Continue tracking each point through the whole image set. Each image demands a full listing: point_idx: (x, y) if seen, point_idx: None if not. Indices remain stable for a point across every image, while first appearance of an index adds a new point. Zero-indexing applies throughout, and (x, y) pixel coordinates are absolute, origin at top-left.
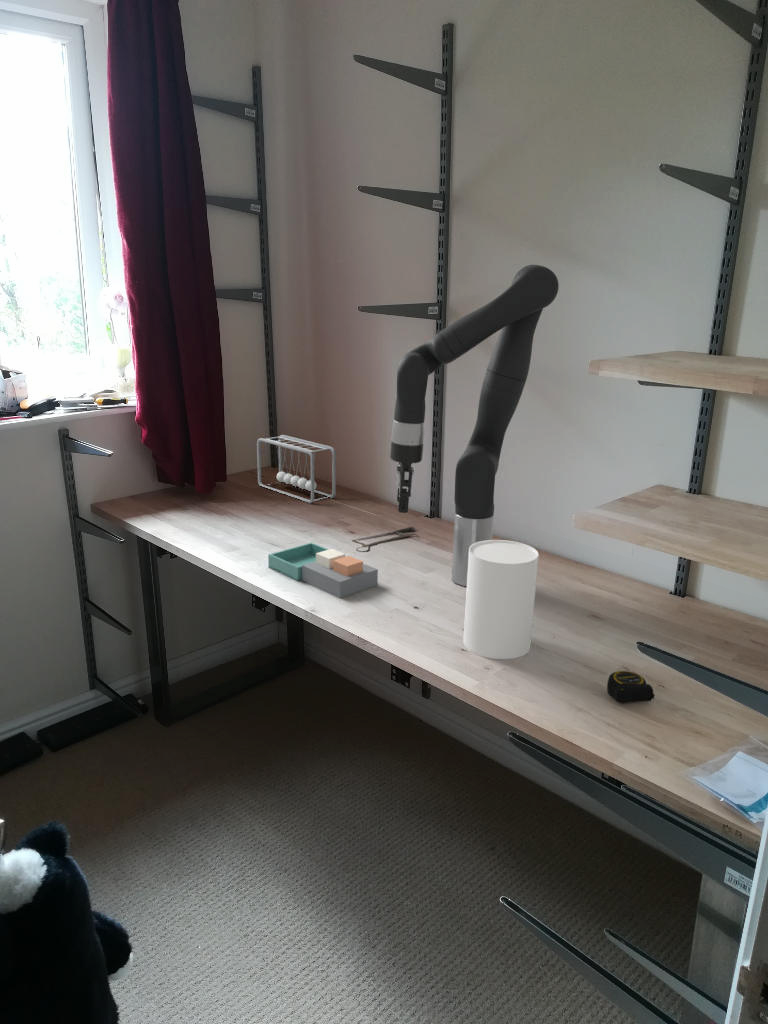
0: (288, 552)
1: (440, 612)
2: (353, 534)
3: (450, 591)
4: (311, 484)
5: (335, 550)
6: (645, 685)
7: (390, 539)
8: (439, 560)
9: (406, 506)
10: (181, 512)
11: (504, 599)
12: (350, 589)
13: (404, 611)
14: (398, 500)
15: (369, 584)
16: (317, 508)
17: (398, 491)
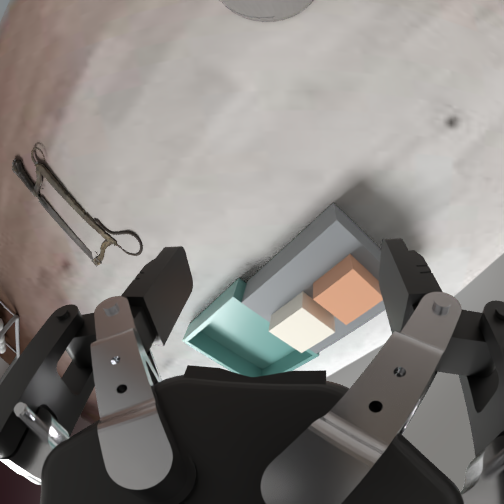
0: (232, 364)
1: (470, 74)
2: (72, 262)
3: (354, 28)
4: (4, 333)
5: (278, 324)
6: None
7: (67, 197)
8: (141, 67)
9: (429, 268)
10: None
11: None
12: None
13: (467, 149)
14: (189, 285)
15: (351, 222)
16: (24, 309)
17: (172, 323)
